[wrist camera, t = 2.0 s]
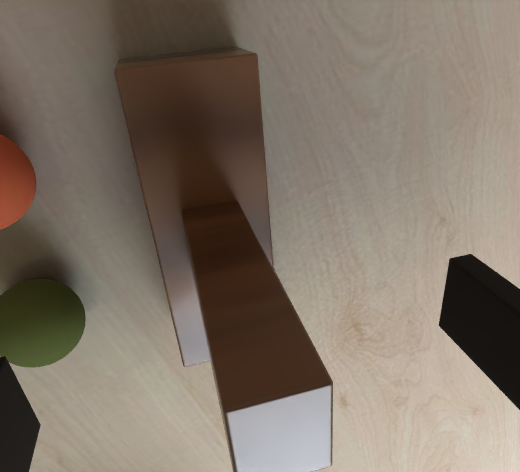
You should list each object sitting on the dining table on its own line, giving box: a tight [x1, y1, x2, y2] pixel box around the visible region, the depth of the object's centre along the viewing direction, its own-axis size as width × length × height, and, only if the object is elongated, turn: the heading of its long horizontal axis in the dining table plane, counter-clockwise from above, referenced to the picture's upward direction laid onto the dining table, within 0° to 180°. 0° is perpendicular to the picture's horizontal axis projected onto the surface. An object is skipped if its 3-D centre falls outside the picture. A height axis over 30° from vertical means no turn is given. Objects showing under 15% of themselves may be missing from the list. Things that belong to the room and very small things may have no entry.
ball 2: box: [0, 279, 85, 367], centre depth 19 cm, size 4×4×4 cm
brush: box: [114, 47, 333, 472], centre depth 15 cm, size 14×5×14 cm, turn 4°
